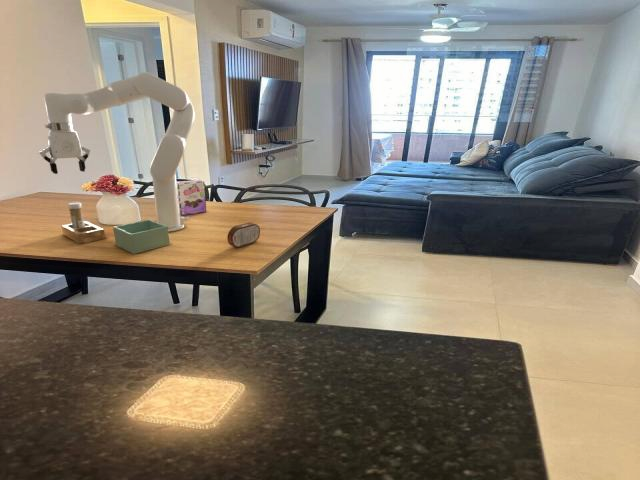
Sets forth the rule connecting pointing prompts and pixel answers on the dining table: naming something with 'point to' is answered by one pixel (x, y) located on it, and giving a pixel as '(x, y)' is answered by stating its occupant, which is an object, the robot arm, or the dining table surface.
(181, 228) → the robot arm
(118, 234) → the basin
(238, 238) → the tin
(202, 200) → the candy box
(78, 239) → the rack
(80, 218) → the sprinkles bottle
